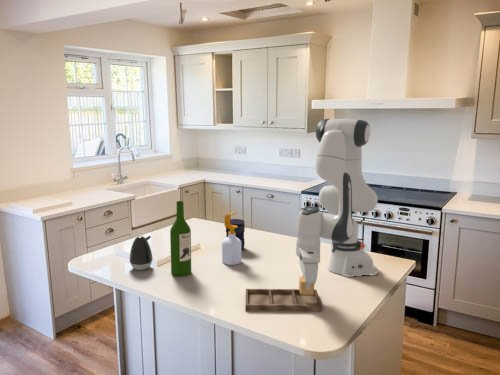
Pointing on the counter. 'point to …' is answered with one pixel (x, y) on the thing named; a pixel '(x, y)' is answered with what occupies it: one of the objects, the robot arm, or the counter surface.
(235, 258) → the soap bottle
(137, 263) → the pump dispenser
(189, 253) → the wine bottle
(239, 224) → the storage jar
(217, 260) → the counter surface
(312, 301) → the organiser
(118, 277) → the counter surface
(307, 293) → the letter cube
